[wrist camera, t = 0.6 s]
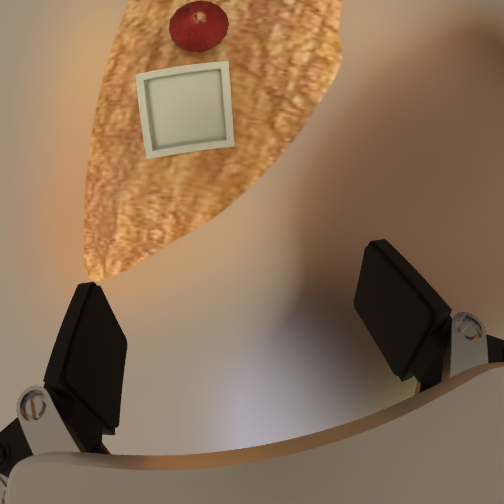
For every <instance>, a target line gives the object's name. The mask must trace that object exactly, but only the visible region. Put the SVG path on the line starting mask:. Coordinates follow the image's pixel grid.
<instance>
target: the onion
mask: <svg viewBox="0 0 504 504" xmlns="http://www.w3.org/2000/svg"><path fill="white" fill-rule="evenodd" d="M228 26H229V23H228V19H227V15H226V14H225V12H224V11H223V10H222V9H221V8H220V7H219V6H217V5H215V4H213V3H212V2H206V1H196V2H191V3H188V4H186V5H184V6H183V7H181V8H179V9H178V10H177V11H176V12H175V14H174V15H173V16H172V18H171V19H170V26H169V31H170V34H171V37H172V40H173V41H174V42H175V43H176V44H177V45H178V46H179V47H181V48H183V49H185V50H187V51H194V52H201V51H205V50H209V49H211V48H212V47H214V46H216V45H217V44H219V43H220V42H221V41H222V39H223V38H224V37H225V36H226V34H227V30H228Z"/></svg>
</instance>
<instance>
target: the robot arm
mask: <svg viewBox="0 0 504 504" xmlns="http://www.w3.org/2000/svg"><path fill="white" fill-rule="evenodd" d="M354 307H355V310H356V311H357V313H358V314H359V316H360V318H361V319H362V321H363V322H364V324H365V326H366V327H367V329H368V331H369V332H370V334H371V336H372V337H373V339H374V341H375V342H376V344H377V346H378V347H379V349H380V351H381V352H382V354H383V356H384V357H385V359H386V361H387V363H388V364H389V366H390V368H391V370H392V371H393V373H394V374H395V375H396V376H399V378H400V379H401V381H402V382H403V381H405V380H407V379H409V378H411V377H413V376H415V377H416V379H417V383H416V388H415V394H414V396H413V397H411V398H408V399H406V400H404V401H402V402H400V403H397V404H395V405H393V406H390V407H388V408H386V409H383V410H381V411H378V412H376V413H373V414H371V415H368V416H365V417H363V418H360V419H357V420H354V421H352V422H349V423H346V424H343V425H340V426H336V427H333V428H330V429H327V430H324V431H320V432H316V433H313V434H309V435H305V436H302V437H298V438H294V439H289V440H285V441H281V442H276V443H271V444H266V445H261V446H255V447H250V448H243V449H236V450H229V451H221V452H212V453H202V454H187V455H163V456H144V455H112V454H111V453H110V452H109V451H108V450H107V448H106V447H105V445H104V444H103V443H102V434H105V435H115V428H116V427H118V426H119V418H120V405H121V393H122V384H123V375H124V366H125V359H126V351H127V340H126V337H125V335H124V333H123V332H122V329H121V328H120V326H119V324H118V322H117V320H116V318H115V316H114V314H113V312H112V309H111V307H110V306H109V303H108V301H107V299H106V297H105V295H104V292H103V290H102V288H101V287H100V286H97V285H96V284H95V283H94V282H90V283H82V284H79V285H78V286H77V288H76V291H75V293H74V296H73V297H72V300H71V302H70V305H69V307H68V310H67V312H66V315H65V317H64V320H63V322H62V325H61V328H60V330H59V333H58V336H57V339H56V342H55V345H54V347H53V351H52V354H51V357H50V360H49V363H48V366H47V370H46V373H45V376H44V380H43V381H44V382H45V384H44V387H41V386H37V385H36V386H31V387H29V388H27V389H26V390H25V391H24V392H23V393H22V394H21V396H20V397H19V399H18V402H17V415H18V417H17V418H16V419H15V420H14V421H13V422H11V424H9V425H8V426H7V427H6V428H5V429H4V430H2V431H1V432H0V504H504V340H501V339H499V338H496V337H493V336H489V335H487V334H486V331H485V327H484V325H483V323H482V322H481V321H480V319H479V318H477V317H476V316H474V315H473V314H470V313H468V312H459V313H457V314H455V315H454V317H453V318H451V317H450V313H451V311H452V310H451V308H450V307H449V306H448V305H447V304H446V302H445V301H444V300H443V299H442V298H441V297H440V296H439V294H438V293H437V292H436V291H435V290H434V289H433V288H432V287H431V285H429V283H428V282H427V281H426V280H425V279H424V278H423V277H422V276H421V275H420V274H419V273H418V271H417V270H416V269H415V268H414V267H413V266H412V265H411V264H410V263H409V262H408V261H407V260H406V259H405V258H404V257H403V256H402V255H401V254H400V253H399V252H398V251H397V250H396V249H395V248H394V247H393V246H392V245H391V244H390V243H389V242H388V241H387V240H385V239H381V240H375V241H371V242H370V243H369V245H368V246H366V248H365V251H364V257H363V262H362V266H361V271H360V276H359V281H358V285H357V290H356V294H355V299H354Z"/></svg>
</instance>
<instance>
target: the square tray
mask: <svg viewBox="0 0 504 504" xmlns="http://www.w3.org/2000/svg"><path fill="white" fill-rule="evenodd" d="M136 86H137V95H138V104H139V112H140V119H141V127H142V133H143V140H144V146H145V153H146V159H151V158H157V157H162V156H168V155H174V154H180V153H187V152H194V151H201V150H208V149H216V148H225V147H234V146H235V144H234V130H233V117H232V103H231V89H230V75H229V61H220V62H209V63H199V64H191V65H184V66H177V67H171V68H165V69H160V70H154V71H149V72H145V73H140V74H136Z"/></svg>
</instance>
